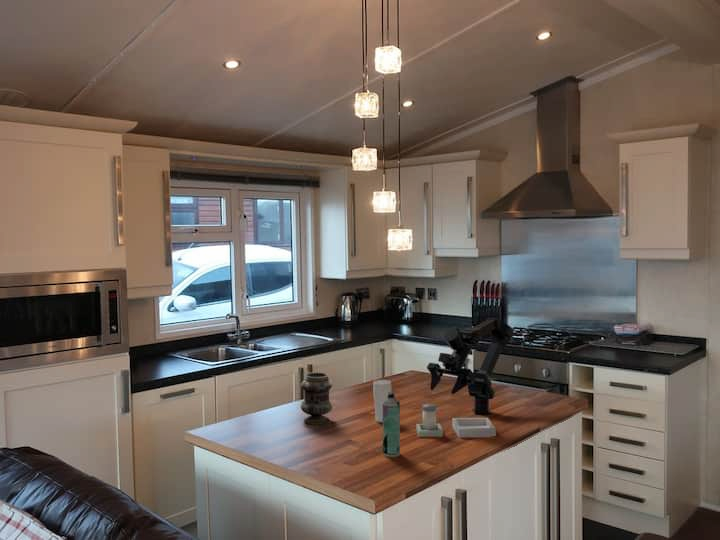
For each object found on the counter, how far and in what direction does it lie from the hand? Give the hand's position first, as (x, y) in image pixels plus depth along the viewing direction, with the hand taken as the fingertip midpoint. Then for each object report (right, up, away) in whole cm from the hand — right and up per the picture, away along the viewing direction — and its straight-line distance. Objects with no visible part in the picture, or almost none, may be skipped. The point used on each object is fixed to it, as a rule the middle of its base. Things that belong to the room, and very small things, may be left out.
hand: (441, 391), depth 227 cm
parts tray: (+11, -14, -3) cm, 18 cm away
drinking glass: (-21, -13, +10) cm, 27 cm away
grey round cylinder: (-5, -14, -5) cm, 15 cm away
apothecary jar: (-46, -13, +11) cm, 49 cm away
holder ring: (-5, -14, -5) cm, 15 cm away
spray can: (-20, -15, -26) cm, 36 cm away
